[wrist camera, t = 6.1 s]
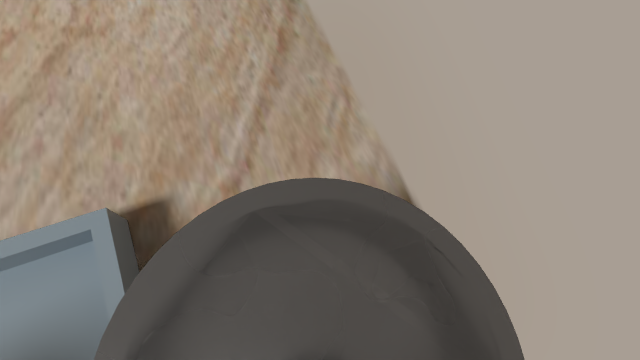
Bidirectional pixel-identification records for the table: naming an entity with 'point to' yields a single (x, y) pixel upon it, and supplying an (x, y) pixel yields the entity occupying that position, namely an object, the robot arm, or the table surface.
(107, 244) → the parts tray
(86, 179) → the table surface
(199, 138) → the table surface
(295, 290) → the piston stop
